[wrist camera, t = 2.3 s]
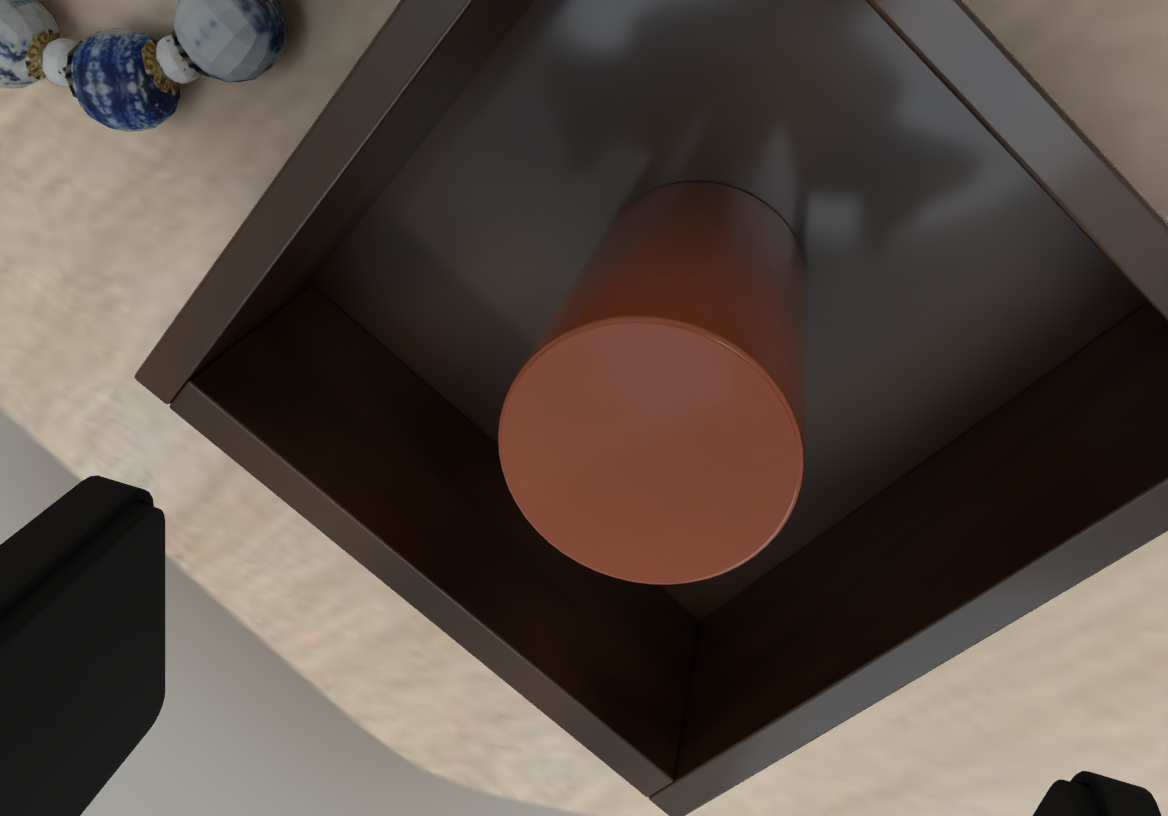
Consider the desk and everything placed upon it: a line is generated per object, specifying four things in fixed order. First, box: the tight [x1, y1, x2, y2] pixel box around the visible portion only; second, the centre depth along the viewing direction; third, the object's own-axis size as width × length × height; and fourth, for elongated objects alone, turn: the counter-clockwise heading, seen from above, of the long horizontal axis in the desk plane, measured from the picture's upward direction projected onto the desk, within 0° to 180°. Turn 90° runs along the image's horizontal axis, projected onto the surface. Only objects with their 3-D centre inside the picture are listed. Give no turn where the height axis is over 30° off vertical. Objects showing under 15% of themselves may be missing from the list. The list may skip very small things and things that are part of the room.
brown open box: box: [135, 0, 1168, 816], centre depth 18 cm, size 14×14×6 cm
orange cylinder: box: [498, 182, 808, 585], centre depth 17 cm, size 4×4×7 cm
